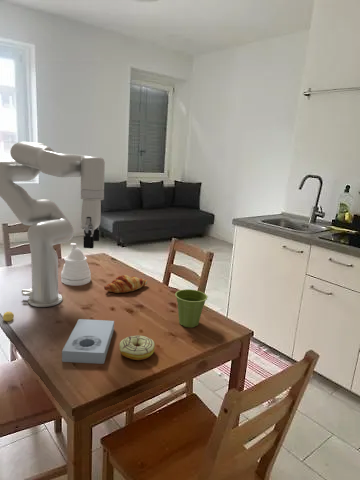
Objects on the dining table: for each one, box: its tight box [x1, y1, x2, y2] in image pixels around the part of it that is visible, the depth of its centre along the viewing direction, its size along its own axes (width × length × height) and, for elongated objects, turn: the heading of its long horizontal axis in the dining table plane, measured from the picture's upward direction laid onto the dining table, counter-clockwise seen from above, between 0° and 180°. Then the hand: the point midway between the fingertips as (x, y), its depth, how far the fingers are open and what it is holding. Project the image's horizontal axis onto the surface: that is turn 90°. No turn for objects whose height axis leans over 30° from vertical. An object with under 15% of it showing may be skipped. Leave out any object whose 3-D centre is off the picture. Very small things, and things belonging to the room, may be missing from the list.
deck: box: [61, 318, 115, 365], centre depth 112 cm, size 20×12×4 cm, turn 2°
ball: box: [2, 311, 15, 322], centre depth 122 cm, size 3×3×3 cm
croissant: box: [103, 274, 148, 294], centre depth 156 cm, size 21×10×8 cm
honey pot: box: [60, 242, 92, 287], centre depth 160 cm, size 13×13×18 cm
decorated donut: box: [119, 335, 156, 361], centre depth 109 cm, size 10×11×4 cm
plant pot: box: [174, 288, 209, 328], centre depth 130 cm, size 12×12×11 cm
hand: (91, 244), depth 122 cm, fingers open, 9 cm apart
